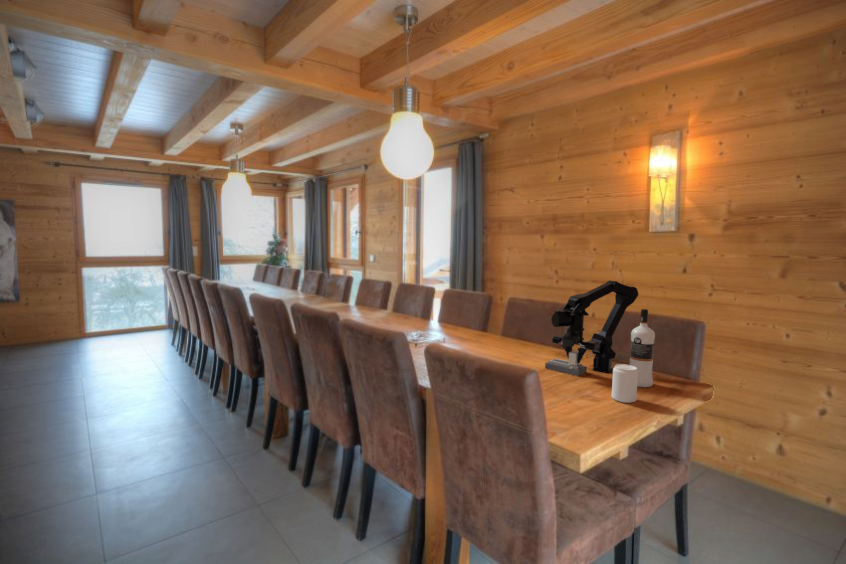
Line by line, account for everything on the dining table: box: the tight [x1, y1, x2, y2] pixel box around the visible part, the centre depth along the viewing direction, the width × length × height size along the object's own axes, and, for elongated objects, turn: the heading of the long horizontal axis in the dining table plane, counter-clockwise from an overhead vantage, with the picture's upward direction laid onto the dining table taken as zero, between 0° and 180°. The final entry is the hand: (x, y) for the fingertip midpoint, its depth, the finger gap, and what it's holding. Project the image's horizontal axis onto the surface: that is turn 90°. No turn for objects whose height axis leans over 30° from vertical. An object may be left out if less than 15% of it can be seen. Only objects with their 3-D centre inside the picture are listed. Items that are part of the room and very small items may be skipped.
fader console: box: [544, 358, 587, 377], centre depth 194 cm, size 15×8×4 cm, turn 46°
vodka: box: [629, 308, 656, 388], centre depth 176 cm, size 9×9×30 cm
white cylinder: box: [611, 363, 638, 404], centre depth 160 cm, size 8×8×12 cm
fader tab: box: [568, 350, 581, 366], centre depth 191 cm, size 3×4×6 cm
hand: (574, 362), depth 191 cm, fingers open, 4 cm apart
